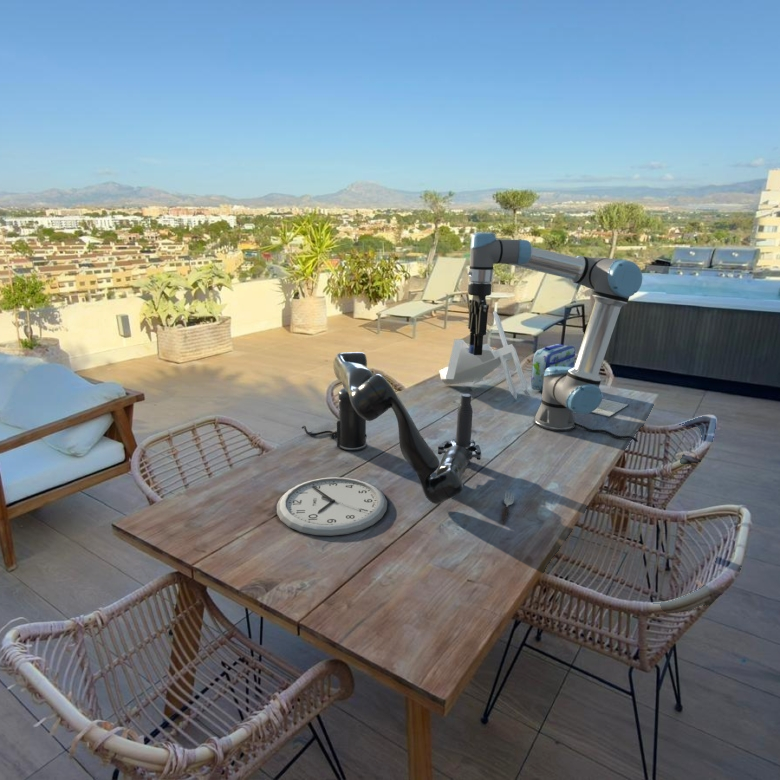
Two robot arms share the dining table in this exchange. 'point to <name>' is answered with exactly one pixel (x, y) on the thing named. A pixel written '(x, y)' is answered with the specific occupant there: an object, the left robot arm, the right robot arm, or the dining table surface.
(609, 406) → the invitation card
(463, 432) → the bottle
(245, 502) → the dining table surface
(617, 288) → the right robot arm
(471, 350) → the cap
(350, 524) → the wall clock
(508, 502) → the fork
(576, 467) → the dining table surface
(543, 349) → the lunch box
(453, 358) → the white plastic object
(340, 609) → the dining table surface
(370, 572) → the dining table surface
